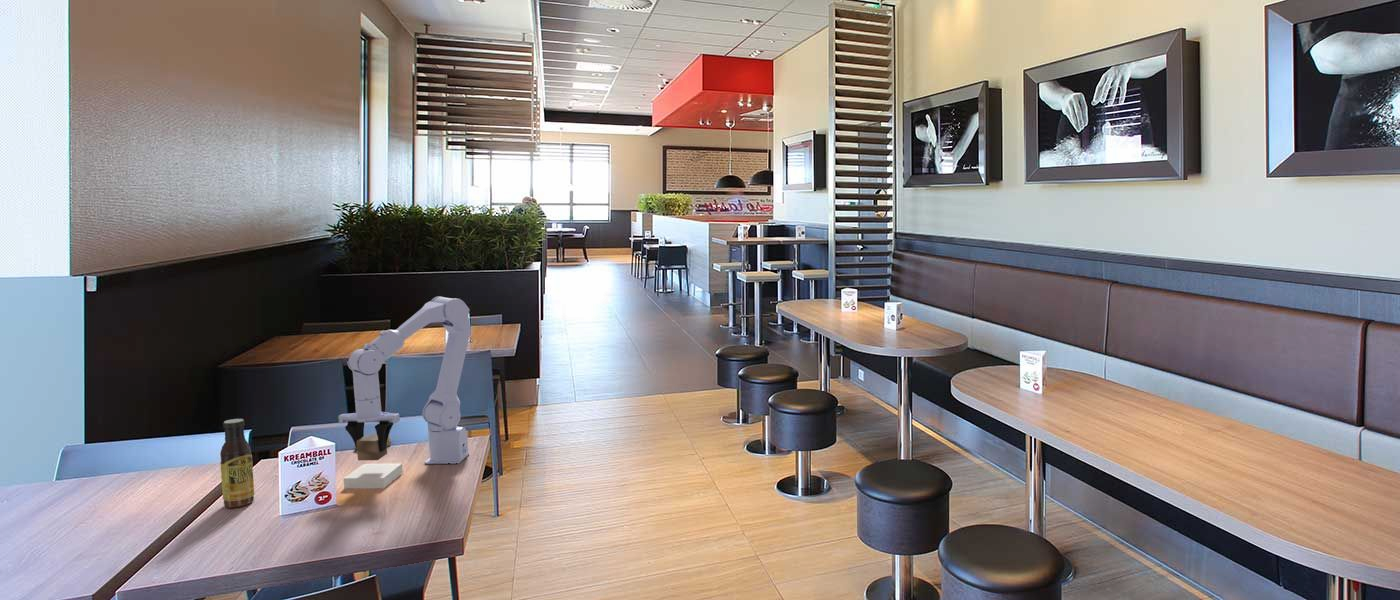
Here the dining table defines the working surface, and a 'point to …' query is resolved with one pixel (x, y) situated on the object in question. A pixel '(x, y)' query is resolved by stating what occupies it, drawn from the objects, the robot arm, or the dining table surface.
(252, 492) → the sauce bottle
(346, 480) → the base block
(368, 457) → the walnut block
